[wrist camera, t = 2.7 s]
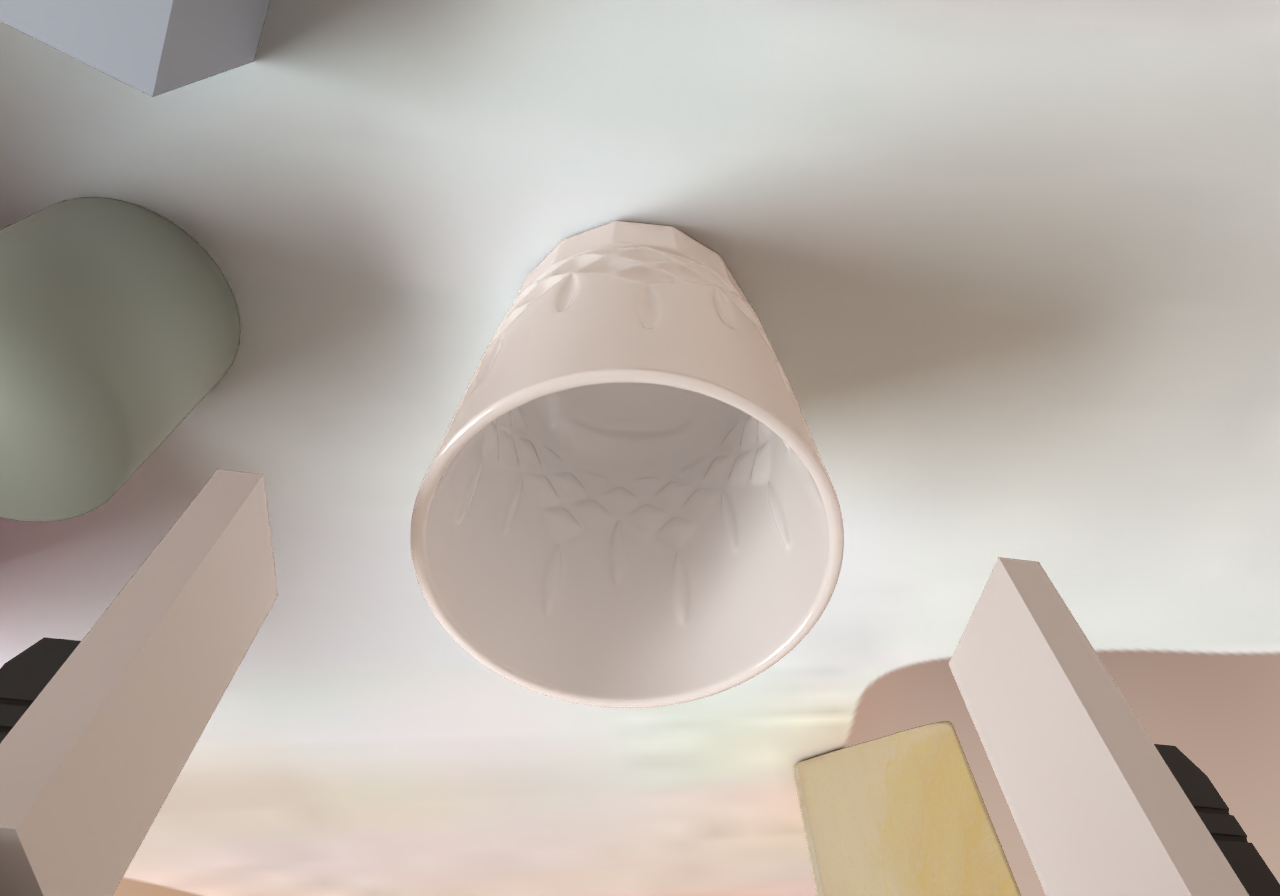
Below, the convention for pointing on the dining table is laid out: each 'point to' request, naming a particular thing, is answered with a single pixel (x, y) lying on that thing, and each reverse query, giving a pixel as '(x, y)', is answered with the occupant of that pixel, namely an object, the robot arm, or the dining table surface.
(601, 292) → the white cup
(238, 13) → the slate blue block
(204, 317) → the grayish green cylinder
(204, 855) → the dining table surface
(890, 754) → the toy refrigerator
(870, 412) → the dining table surface
